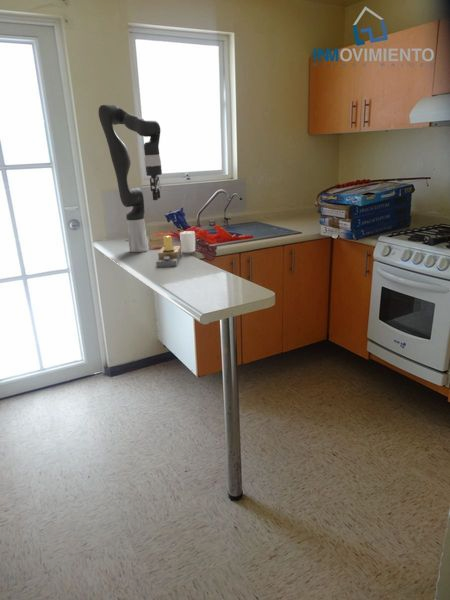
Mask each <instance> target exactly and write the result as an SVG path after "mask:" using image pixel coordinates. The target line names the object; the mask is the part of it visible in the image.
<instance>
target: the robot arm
mask: <svg viewBox="0 0 450 600" xmlns="http://www.w3.org/2000/svg"><path fill="white" fill-rule="evenodd" d="M98 118H99V122H100V124H101V127H102V131H103V133H104V135H105V138H106V142H107V146H108V150H109V154H110V159H111V162H112V165H113V168H114V172H115V177H116V182H117V186H118V187H117V188H118V194H119V198H120V201H121V204H122V205H123V206H124V207H126V208H129V207H130V208H132V209H131V210H130V211H129V212H128V213H126V224H127V231H128V232H127V233H128V234H127V239H128V248H129V252H130V253H141V252H142V253H143V252H146V251H148V250H149V249H148V248H149V247H148V238H147V231H146V223H145V222H146V221H145V212H146V211H145V199H144V193H143V191H142V189H141V188H140V187H132V188H130V187H129V183H128V175H129V171H130V168H131V163H132V162H131V156H130V154H129V149H128V147H127V146H126V144H125V143H124V142H123V141H122V139H121V138H120V137H119V136H118V135H117V133H116V131H115V129H114V126H115V125H124V126H125V127H126V128H127V129H128V130H131V131H133V132H136V134H138V135H139V136H142V137H147V138H148V137H149V141H147V142H144V144H143V151H144V167H145V174H146V176H149V177H150V178H149V184H150V185H149V186H150V192H151V194H152V200H153V201H158V200H159V199H161V189H162V188H161V181H160V176H162V174H163V170H162V161H161V155H160V147H159V145H160V140H161V139H160V138H161V132H162V131H161V126H160V124H159V122H158V121H157V120H145V119H144V118H143V117H140V116H138V115H134V114H131V113H129V112H127V111H126V110H124V109H123V108H121V107H119V106H118V105H113V104H112V105H111V104H102V105H100V106H98Z"/></svg>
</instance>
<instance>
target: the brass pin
mask: <svg viewBox="0 0 450 600" xmlns="http://www.w3.org/2000/svg"><path fill="white" fill-rule="evenodd" d="M162 239H163V247H164V251H165V252H173V247H172V244H173V240H172V239H173V238H172V236H171V235H163V236H162Z"/></svg>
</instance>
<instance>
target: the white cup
mask: <svg viewBox="0 0 450 600" xmlns="http://www.w3.org/2000/svg"><path fill="white" fill-rule="evenodd" d="M179 238H180V244H181V245H180V246H181V253H186V254H187V253H194V252H196V232H195V231H194V230H187V231H180V232H179Z"/></svg>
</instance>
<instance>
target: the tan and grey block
mask: <svg viewBox="0 0 450 600" xmlns="http://www.w3.org/2000/svg"><path fill="white" fill-rule="evenodd" d="M172 247H173V252H165V251H164V246H162V247H161V249H160V250H159V251H158V253H157V255H158V259H156V264H155V265H156V268H166V267H167V268H168V267H170V268H171V267H177V266H178V264H179V261H180V259H181V257H182V246H181V245H174V244H173V243H172Z"/></svg>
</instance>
